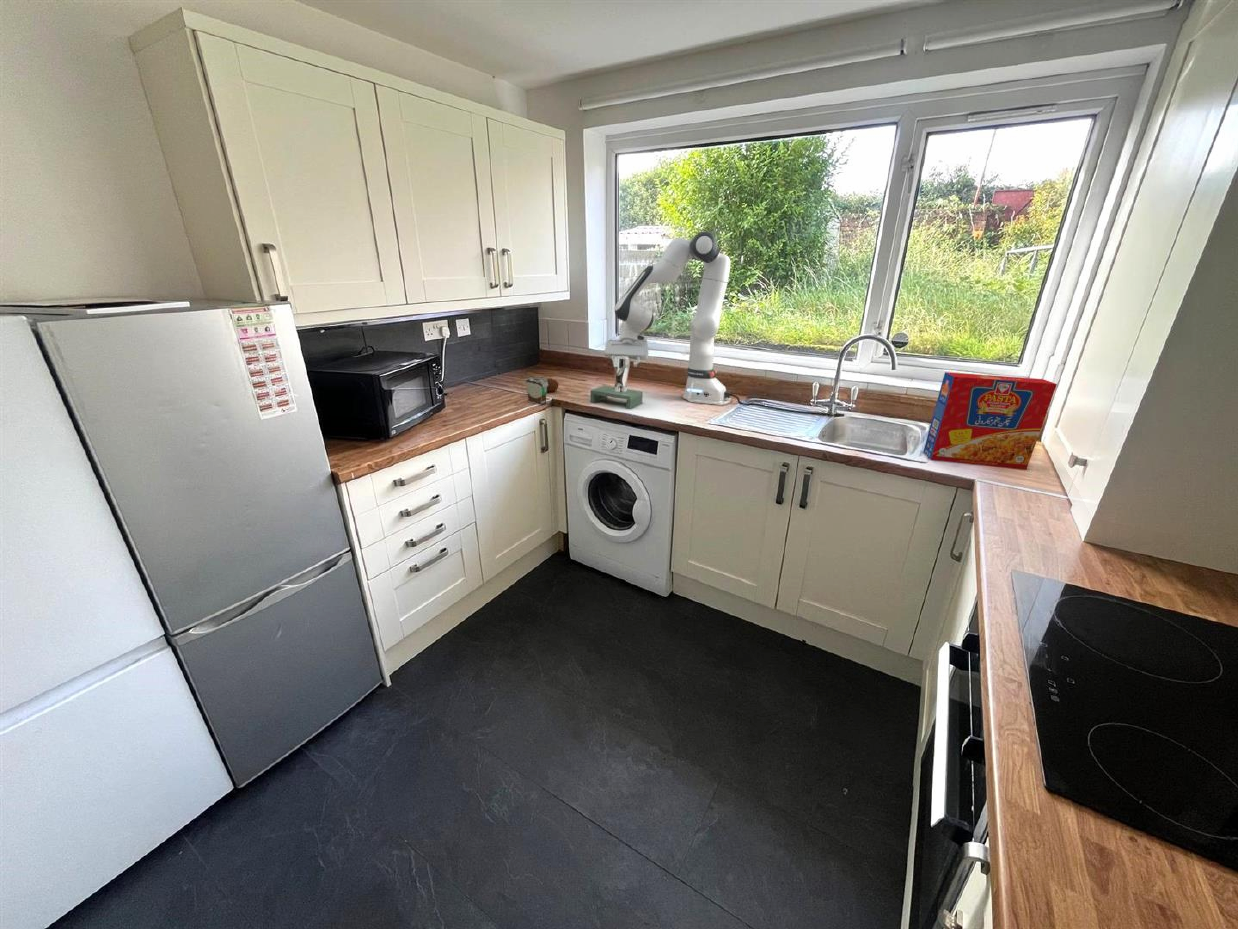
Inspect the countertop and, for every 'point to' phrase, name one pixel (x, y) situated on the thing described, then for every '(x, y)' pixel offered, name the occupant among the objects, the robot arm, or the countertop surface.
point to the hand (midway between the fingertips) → (624, 365)
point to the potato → (552, 385)
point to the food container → (536, 390)
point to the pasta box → (988, 419)
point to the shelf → (617, 395)
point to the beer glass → (621, 373)
